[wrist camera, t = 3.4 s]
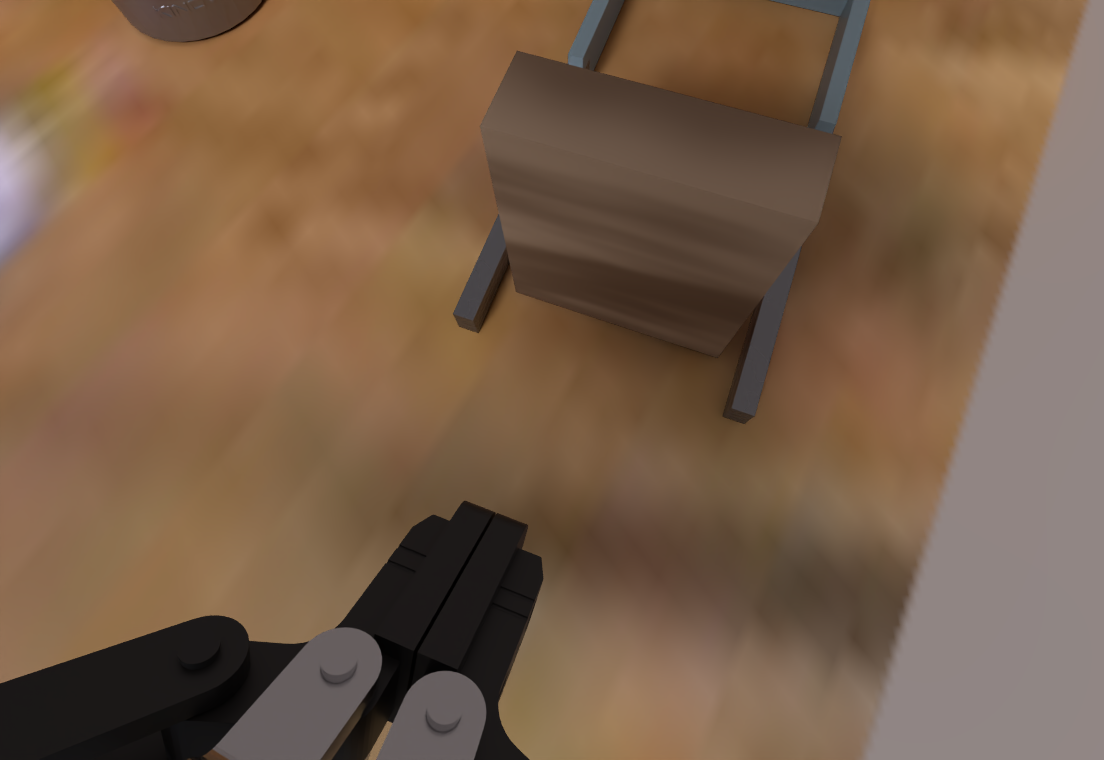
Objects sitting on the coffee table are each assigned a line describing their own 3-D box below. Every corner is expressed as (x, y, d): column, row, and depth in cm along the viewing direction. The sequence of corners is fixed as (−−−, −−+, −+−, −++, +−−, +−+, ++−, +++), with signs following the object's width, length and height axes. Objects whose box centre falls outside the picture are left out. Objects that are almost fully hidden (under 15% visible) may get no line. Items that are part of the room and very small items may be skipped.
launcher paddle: (717, 357, 26) (818, 222, 15) (515, 291, 27) (479, 125, 16) (734, 301, 26) (841, 136, 16) (538, 240, 28) (516, 50, 17)
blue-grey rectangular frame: (814, 159, 29) (836, 124, 26) (568, 93, 31) (568, 54, 28) (856, 9, 32) (879, -35, 29) (629, -44, 34) (633, -89, 31)
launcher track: (744, 423, 25) (754, 416, 23) (459, 326, 27) (452, 313, 25) (823, 143, 29) (836, 122, 28) (572, 76, 31) (572, 53, 30)
